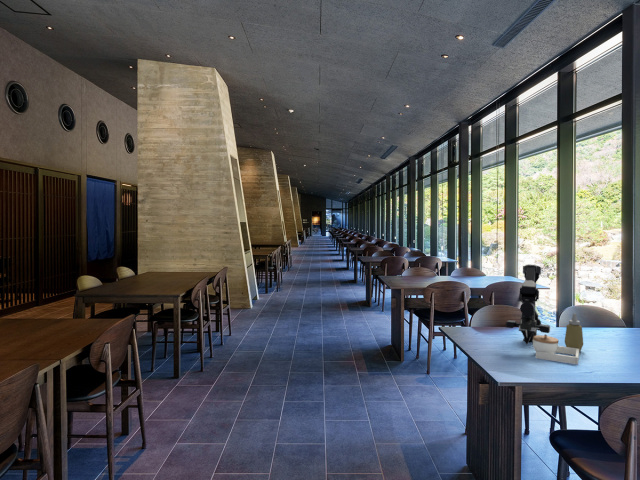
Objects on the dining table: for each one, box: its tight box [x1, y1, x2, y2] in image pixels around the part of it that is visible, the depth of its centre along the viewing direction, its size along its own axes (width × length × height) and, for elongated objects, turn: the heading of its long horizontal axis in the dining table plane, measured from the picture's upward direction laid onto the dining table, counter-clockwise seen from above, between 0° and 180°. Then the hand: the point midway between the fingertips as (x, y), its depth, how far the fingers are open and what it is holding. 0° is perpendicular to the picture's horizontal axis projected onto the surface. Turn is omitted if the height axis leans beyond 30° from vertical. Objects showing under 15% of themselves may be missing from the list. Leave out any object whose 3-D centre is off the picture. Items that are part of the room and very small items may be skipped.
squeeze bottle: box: [564, 312, 584, 352], centre depth 210 cm, size 8×8×18 cm
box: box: [535, 345, 580, 366], centre depth 199 cm, size 17×16×3 cm
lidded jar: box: [532, 334, 559, 354], centre depth 202 cm, size 11×11×9 cm
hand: (526, 344), depth 206 cm, fingers closed
